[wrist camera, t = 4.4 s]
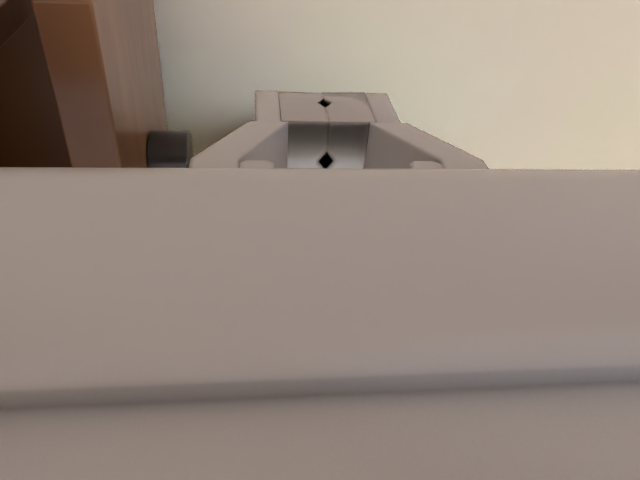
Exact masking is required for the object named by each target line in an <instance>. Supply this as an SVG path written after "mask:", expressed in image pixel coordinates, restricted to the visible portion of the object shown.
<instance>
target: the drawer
mask: <svg viewBox="0 0 640 480" xmlns="http://www.w3.org/2000/svg"><path fill="white" fill-rule="evenodd" d="M192 157H193V150H192V139H191V134H190V132H189V131H168V130H167V121H166V112H165V103H164V94H163V85H162V76H161V68H160V59H159V50H158V41H157V32H156V23H155V14H154V5H153V0H0V167H95V168H189V165H190V159H191V158H192Z"/></svg>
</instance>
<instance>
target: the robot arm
mask: <svg viewBox="0 0 640 480" xmlns="http://www.w3.org/2000/svg"><path fill="white" fill-rule="evenodd" d="M0 480H640V170H567V169H488V167H487V166H486V164H485V162H484V161H483V160H481V159H479V158H477V157H475V156H473V155H471V154H469V153H467V152H465V151H463V150H461V149H459V148H457V147H455V146H452V145H450V144H448V143H446V142H444V141H442V140H440V139H438V138H436V137H434V136H432V135H430V134H428V133H426V132H424V131H422V130H420V129H418V128H416V127H414V126H412V125H410V124H408V123H401V122H400V120H399V118H398V116H397V114H396V112H395V110H394V108H393V106H392V104H391V102H390V100H389V97H388V95H387V94H385V93H304V92H278V91H255V121H249V122H247V123H246V124H244V125H243V126H241V127H239V128H238V129H236V130H235V131H233V132H231V133H230V134H228V135H227V136H225V137H224V138H222V139H220V140H219V141H217V142H216V143H214V144H212V145H211V146H209V147H208V148H206V149H205V150H203V151H201V152H200V153H198V154H197V155H195V156H194V157H192V158H191V159H190V165H189V168H95V167H0Z"/></svg>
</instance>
